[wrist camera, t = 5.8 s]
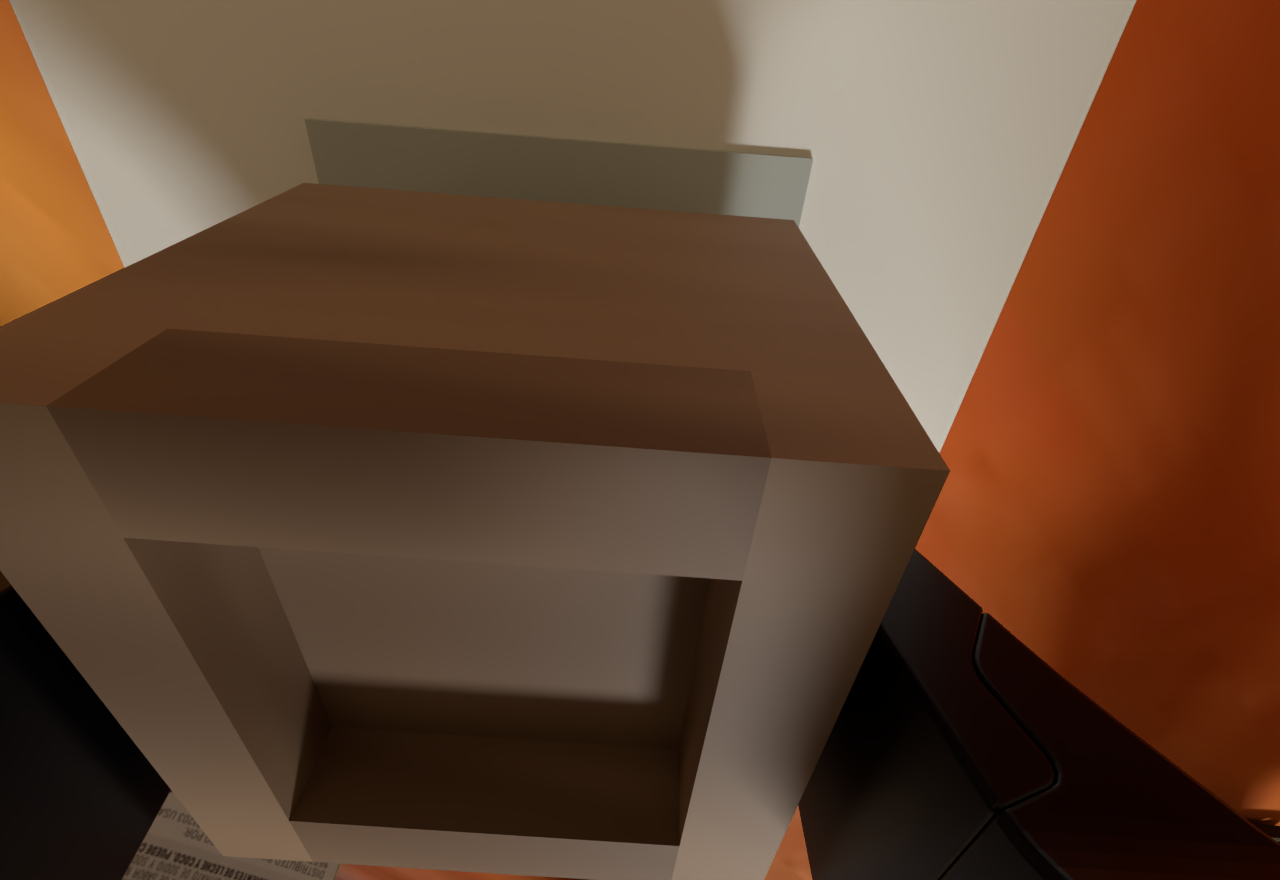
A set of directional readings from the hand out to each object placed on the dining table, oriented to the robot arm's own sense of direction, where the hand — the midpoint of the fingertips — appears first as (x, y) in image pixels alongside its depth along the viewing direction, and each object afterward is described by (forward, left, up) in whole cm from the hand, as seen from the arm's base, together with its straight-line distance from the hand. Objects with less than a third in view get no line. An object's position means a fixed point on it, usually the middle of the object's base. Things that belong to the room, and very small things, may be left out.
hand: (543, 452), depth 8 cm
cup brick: (0, 0, -1) cm, 1 cm away
